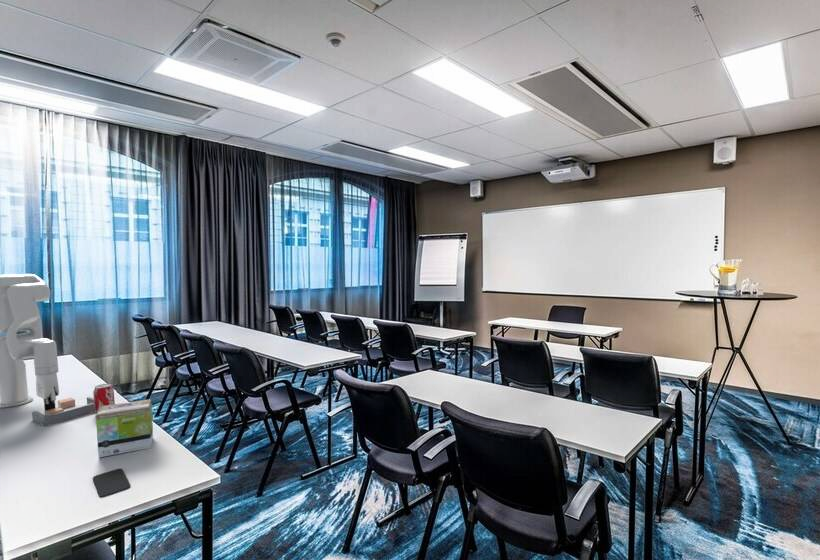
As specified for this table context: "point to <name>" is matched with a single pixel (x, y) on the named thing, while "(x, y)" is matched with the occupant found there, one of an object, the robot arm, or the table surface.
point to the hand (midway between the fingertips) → (50, 412)
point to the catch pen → (64, 413)
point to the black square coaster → (111, 482)
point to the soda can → (103, 396)
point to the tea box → (124, 427)
